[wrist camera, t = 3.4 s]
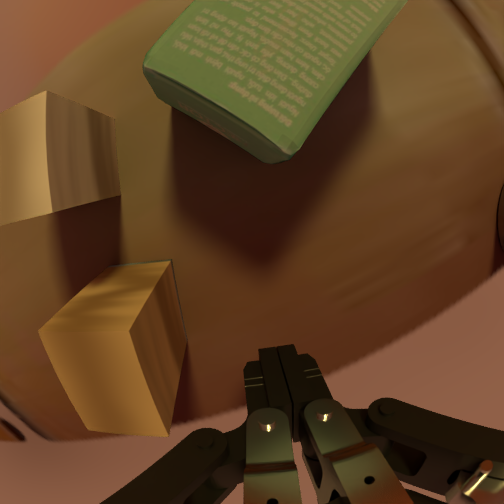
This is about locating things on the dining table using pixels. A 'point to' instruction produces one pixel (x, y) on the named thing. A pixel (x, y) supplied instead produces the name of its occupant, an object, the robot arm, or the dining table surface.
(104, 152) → the birch pillar
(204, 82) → the box
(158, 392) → the oak pillar
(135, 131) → the dining table surface
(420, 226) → the dining table surface
